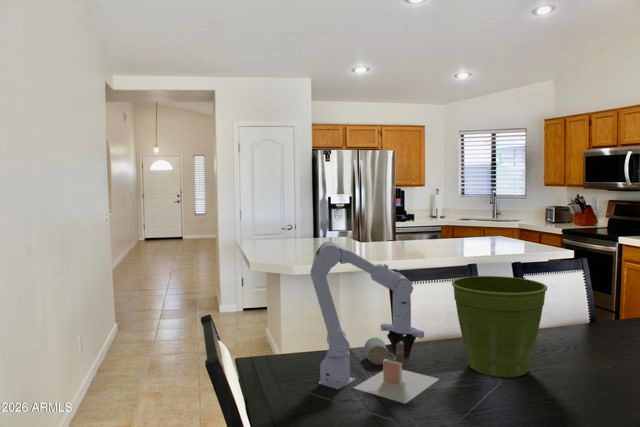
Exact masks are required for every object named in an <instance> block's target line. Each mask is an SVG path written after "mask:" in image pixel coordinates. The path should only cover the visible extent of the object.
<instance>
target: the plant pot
mask: <svg viewBox="0 0 640 427" xmlns="http://www.w3.org/2000/svg"><path fill="white" fill-rule="evenodd" d="M451 285H452V287H453V297H454V301H455V306H456V312H457V318H458V319H457V320H458V323H459V328H460V332H461V338H462V340H463V344H464V349H465V352H466V355H467V365H468V367H469V368H470V369H471V370H473V371H475V372H477V373H479V374H483V375H486V376H489V377H496V378H517V377H521V376H524V375H525V374H527V373H528V372H529V370H530V360H531V358H532V354H533V352H534V348H535V344H536V341H537V337H538V333H539V330H540V329H539V328H540V325H541V324H540V323H541V321H542V313H543V309H544V308H543V307H544V306H545V297H546V292H547V291H548V286H547V285H546V284H545V283H543V282H539V281H536V280H533V279H528V278H521V277H513V276H501V275H500V276H499V275H477V276H475V275H473V276H465V277H459V278H456V279H454V280H452V281H451Z"/></svg>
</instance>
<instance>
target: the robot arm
mask: <svg viewBox="0 0 640 427" xmlns="http://www.w3.org/2000/svg"><path fill="white" fill-rule="evenodd" d="M312 261H313V262H312V264H311V269H310V278H311V280H312V284H313V287H314V291H315V294H316V297H317V298H316V299H317V301H318V305H319V307H320V311H321V315H322V317H323V322H324V324H325V328H326V332H327V335H326V342H327V344H328V349H327V351H326V356H325V358H324V359H323V360H321V362H320V366H319V369H320V370H319V372H320V376H319V377H320V378H319V379H320V380H319V381H318V384H320V385H323V386H326V387H328V388H332V389H336V390H340V389H341V388H343V387H345V386H347V385H349V384H351V383H353V382H354V381H356V378H355V377H351V367H350V365H351V364H350V362H351V361H350V360H351V359H350V358H351V357H350V355H351V353H350V348H351V347H350V343H349V341H348V338H347V334H346V333H345V331H343V330H342V326H341V323H340V320H339V317H338V314H337V309H336V307H335V303H334V299H333V297H332V292H331V289H330V286H329V283H328V279H327V276H328V274H329V273H330V271H331V270H332V268H334V267H335V266H337V264H338V263H340V265H344V264H350V265H352V266H355V267H356V268H358V269H359V270H360V269H361V270H362V271H364V272H366V273H368V274H370V278H371V280H372V281H374V282H375V283H377V284H379V285H381V286H383V287H385V288H387V289H388V290H391V291H392V323H382V324H380V331H381V332H388V333H387V334H386V337H387V339H388V341H389V342H390V344H391V347H392V352H393V355H394V356H395V357H396V343H397V342H399V341H403V344H404V358H408V357H409V358H410V356H411V350H412V348H413V345H414V342H415V341H416V339H417V338H418V339H423V338H425V331H424V330H421V329H417V328H415V327H412V300H411V298H412V297H411V296H412V295H411V294H412V293H413V291H414V286H413V283H412V282H411V280H409V279H408V278H407V277H405V276H404V275H403V274H402V273H401V272H399V271H398V272H396V271H394V270H392V269H391V268H389V265H388V264H386V263H384V264H382V263H377V264H374V263H372V262H370V261H369V260H367V259H365V258H363V257H362V256H361V255H359V254H357V253H355V252H353V251H351V250H350V249H348V248H346V247H344V246H341V245H336V244H335V243H334V242H331V241H326V242H323V243H321V245H320V246H319V247H318V249H317V250H316V252H315V254H314V258H313V260H312ZM402 335H404V336H402ZM401 337H402V338H401Z"/></svg>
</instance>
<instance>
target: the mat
mask: <svg viewBox="0 0 640 427" xmlns="http://www.w3.org/2000/svg"><path fill="white" fill-rule="evenodd" d="M439 380H440V378H438V377H437V378H436V377H434V376H430V375H425V374H421V373H417V372H413V371H410V370H405V369H402V386H396V385H393V384H389V383H385V382H383V370H382V371H380V372H379V373H377V374H375V375H373V376H371V377H370V378H368V379H366V380H364V381H362V382H361V383H359V384H357V385H355V386H354V387H353V389H355V390H359V391H361V392H365V393H367V394H372V395H375V396H379V397H381V398H383V399H384V398H385V399H389V400H391V401H395V402H398V403H401V404H404V405H406V404H407V403H409V402H410V401H411V400H413V399H414V398H416V397H417V396H418V395H420V394H421V393H422V392H424V391H426V389H428V388H430V387H431V386H432V385H434V384H435V383H436V382H437V381H439Z"/></svg>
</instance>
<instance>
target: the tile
mask: <svg viewBox="0 0 640 427" xmlns="http://www.w3.org/2000/svg"><path fill="white" fill-rule="evenodd" d="M382 367H383V369H382V371H383V382H385V383H389V384H393V385H396V386H402V370H403V365H402V363H400V362H396V361H392V360H388V359H384V360H383V364H382Z"/></svg>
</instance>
